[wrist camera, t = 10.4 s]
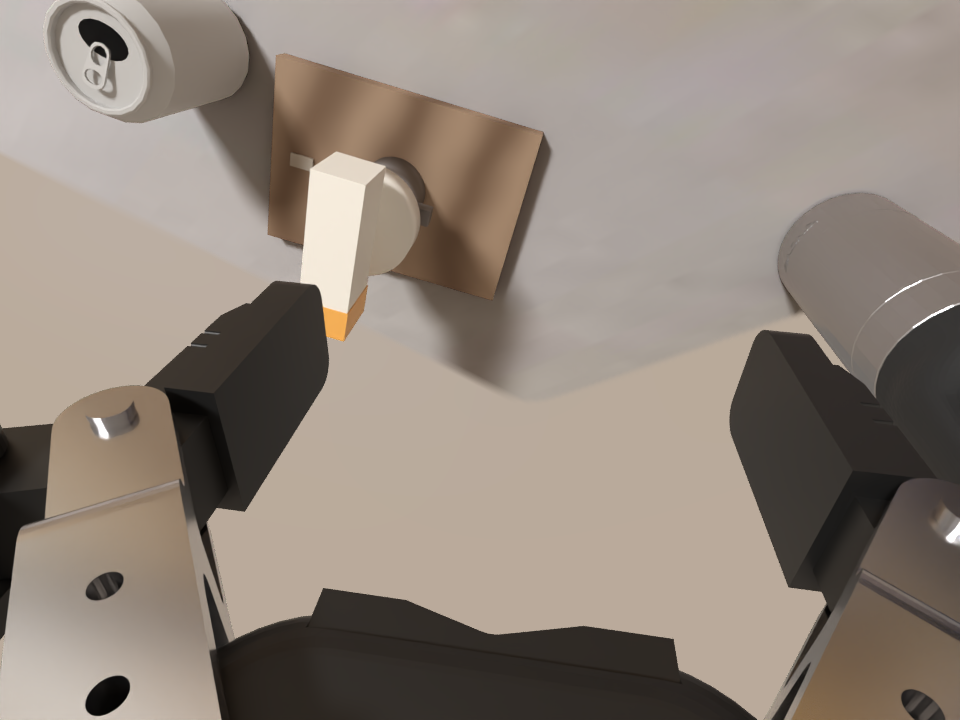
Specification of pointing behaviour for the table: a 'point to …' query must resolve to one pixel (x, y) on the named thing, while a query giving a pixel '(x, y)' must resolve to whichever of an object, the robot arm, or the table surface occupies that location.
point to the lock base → (422, 136)
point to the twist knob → (354, 233)
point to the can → (146, 54)
